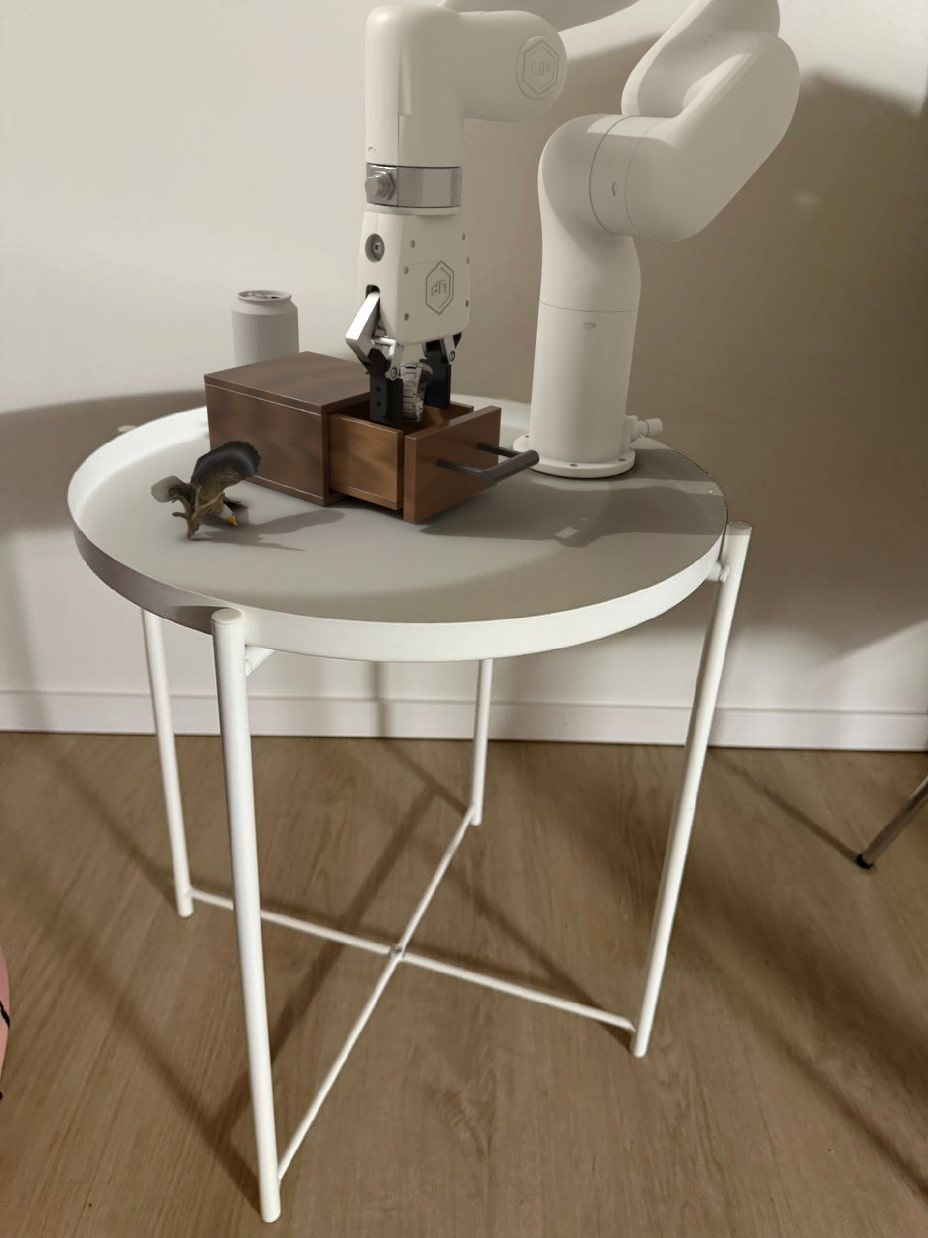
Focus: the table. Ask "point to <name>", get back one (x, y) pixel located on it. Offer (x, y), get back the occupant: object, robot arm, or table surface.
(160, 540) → the table surface
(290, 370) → the cabinet
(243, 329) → the can
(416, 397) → the wristwatch
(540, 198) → the robot arm
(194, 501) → the eagle figurine
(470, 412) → the drawer
